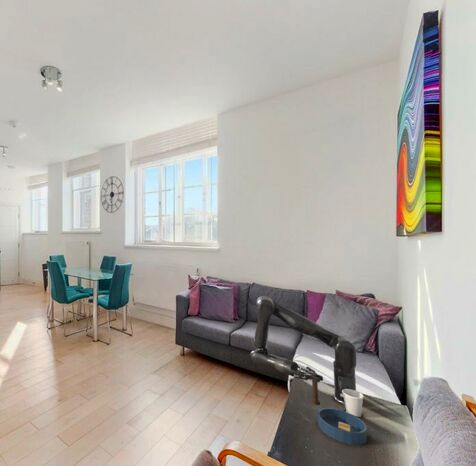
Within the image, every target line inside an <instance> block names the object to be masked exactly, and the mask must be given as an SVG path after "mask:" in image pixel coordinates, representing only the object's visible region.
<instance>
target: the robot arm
mask: <svg viewBox="0 0 476 466" xmlns="http://www.w3.org/2000/svg"><path fill="white" fill-rule="evenodd" d="M255 304H256V309H257V324H256V328H255V332H254V340H253V345H254V346H255V347H256V349H254V350H252V351H251V352H250V353H249V358H250V360H251V362H253V363H254V364H256V365H259V366H262V367H263V366H265V367H268V368H271V369H274V370H276V371H278V372H280V373H282V374H286V375H288V376H290V377H292V378H294V379H298V380H303V381H312V380H313V381H316V382H318V383H320V382H323V381H324V376H323V375H320V374H318V373H317V377H316V376H313V375H312V372H315V373H316V370H314V369H313V368H311V367H310V366H305V367H303V366H300V365H299V364H298V363H297V362H296V361H293V360H290V359H288V358H286V357H280V356H279V355H275V354H272V353H271V354H269V350H268V349H269V348H268V341H269V331H270V324H271V319H272V317H273V316H274V317H276V318H278V319H279V320H280V321H282V322H283V323H284V324H285V325H287V326H288V327H289V328H291V329H292V330H294V331H296V332H298V333H299V334H301V335H303V336H305V337H309V338H311V339H315V340H317V341H320V342H321V343H323V344H325V345H326V346H328V347H329V348H331V350H333V351H334V360H333V361H332V364H333V365H332V369H333V371H332V372H333V388H334V389H333V390H334V391H333V392H334V397H333V398H334V400H335V401H336V402H338V403H339V404H342V405H344V406H345V401H344V396H343V392H342V390H344V389H351V390H355V391H357V381H356V379H357V378H356V367H357V349H356V346H355V345H354V344H353V343H352V342H351V341H350V340H349V339H348V338H346V337H345V336H342V335H339V334H337V333H334V332H332V331H330V330H328V329H326V328H325V327H322V326H321V325H320V324H318V323H316V322H315V321H313V320H312V319H310V318H308V317H306V316H303V315H302V314H300V313H298V312H297V311H296V312H295V311H294V310H291V309H290V308H287V307H285V306H283V305H281V304H280V303H278V302H277V301H275V300H274V299H272V298H270V296H265V295H261V296H259V297H258V298H257V299H256V303H255Z"/></svg>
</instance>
